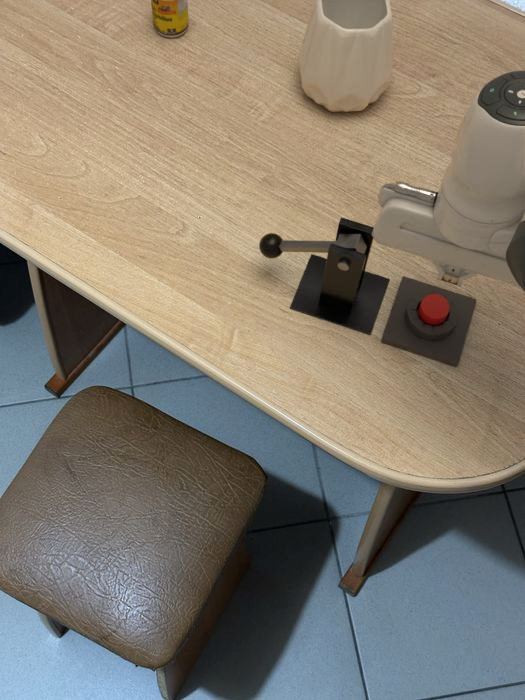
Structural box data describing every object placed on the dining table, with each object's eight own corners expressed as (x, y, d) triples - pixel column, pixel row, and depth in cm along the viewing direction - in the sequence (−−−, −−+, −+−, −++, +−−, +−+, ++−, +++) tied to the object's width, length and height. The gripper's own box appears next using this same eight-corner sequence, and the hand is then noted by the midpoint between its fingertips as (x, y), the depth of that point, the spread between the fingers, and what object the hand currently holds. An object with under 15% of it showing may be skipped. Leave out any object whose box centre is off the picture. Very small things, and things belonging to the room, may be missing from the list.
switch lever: (261, 263, 107) (251, 247, 105) (270, 243, 109) (260, 227, 106) (361, 266, 100) (353, 249, 98) (369, 245, 101) (361, 228, 99)
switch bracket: (289, 312, 110) (296, 254, 97) (310, 259, 114) (320, 196, 101) (369, 339, 108) (386, 283, 96) (388, 283, 112) (407, 223, 100)
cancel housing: (472, 307, 111) (480, 292, 107) (454, 371, 107) (462, 357, 103) (400, 284, 112) (405, 268, 109) (379, 346, 108) (384, 331, 104)
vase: (393, 120, 125) (412, 41, 112) (299, 123, 125) (307, 43, 111) (381, 51, 132) (398, -31, 118) (292, 54, 131) (298, -29, 117)
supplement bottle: (146, 29, 132) (140, -26, 123) (168, 9, 134) (164, -47, 125) (174, 44, 131) (169, -10, 122) (196, 25, 133) (193, -31, 124)
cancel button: (449, 305, 107) (452, 298, 105) (442, 329, 105) (445, 322, 104) (422, 297, 107) (425, 290, 106) (415, 320, 106) (417, 313, 104)
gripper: (373, 200, 87) (358, 273, 99) (569, 258, 84) (528, 326, 96) (390, 156, 90) (373, 232, 102) (580, 211, 87) (539, 282, 99)
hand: (450, 278), depth 99 cm, fingers closed
